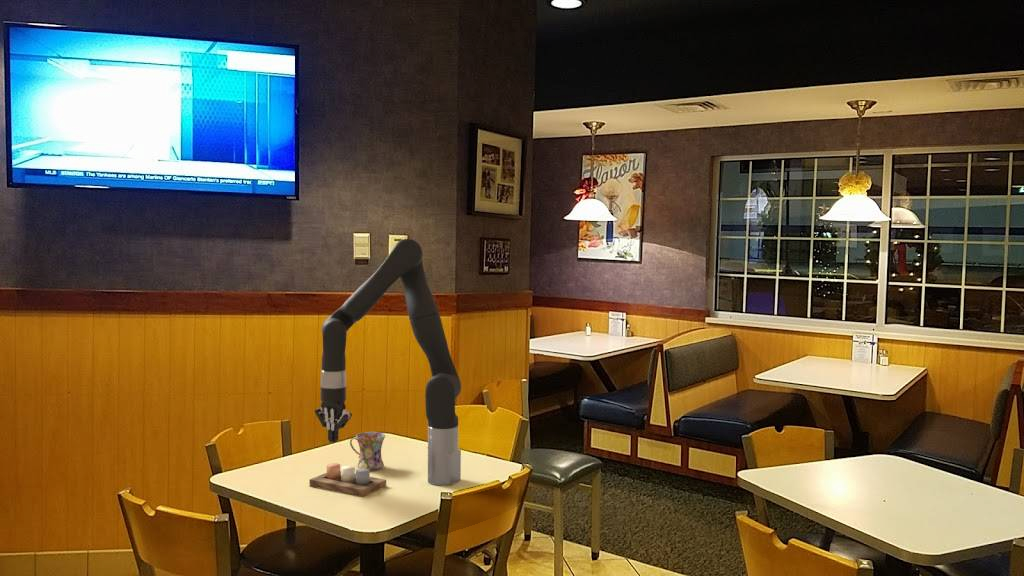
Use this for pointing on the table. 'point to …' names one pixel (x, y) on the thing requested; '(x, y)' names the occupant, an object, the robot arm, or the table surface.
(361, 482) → the light blue cube
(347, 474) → the button mid
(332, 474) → the salmon pink cube
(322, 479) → the button board
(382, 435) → the mug
